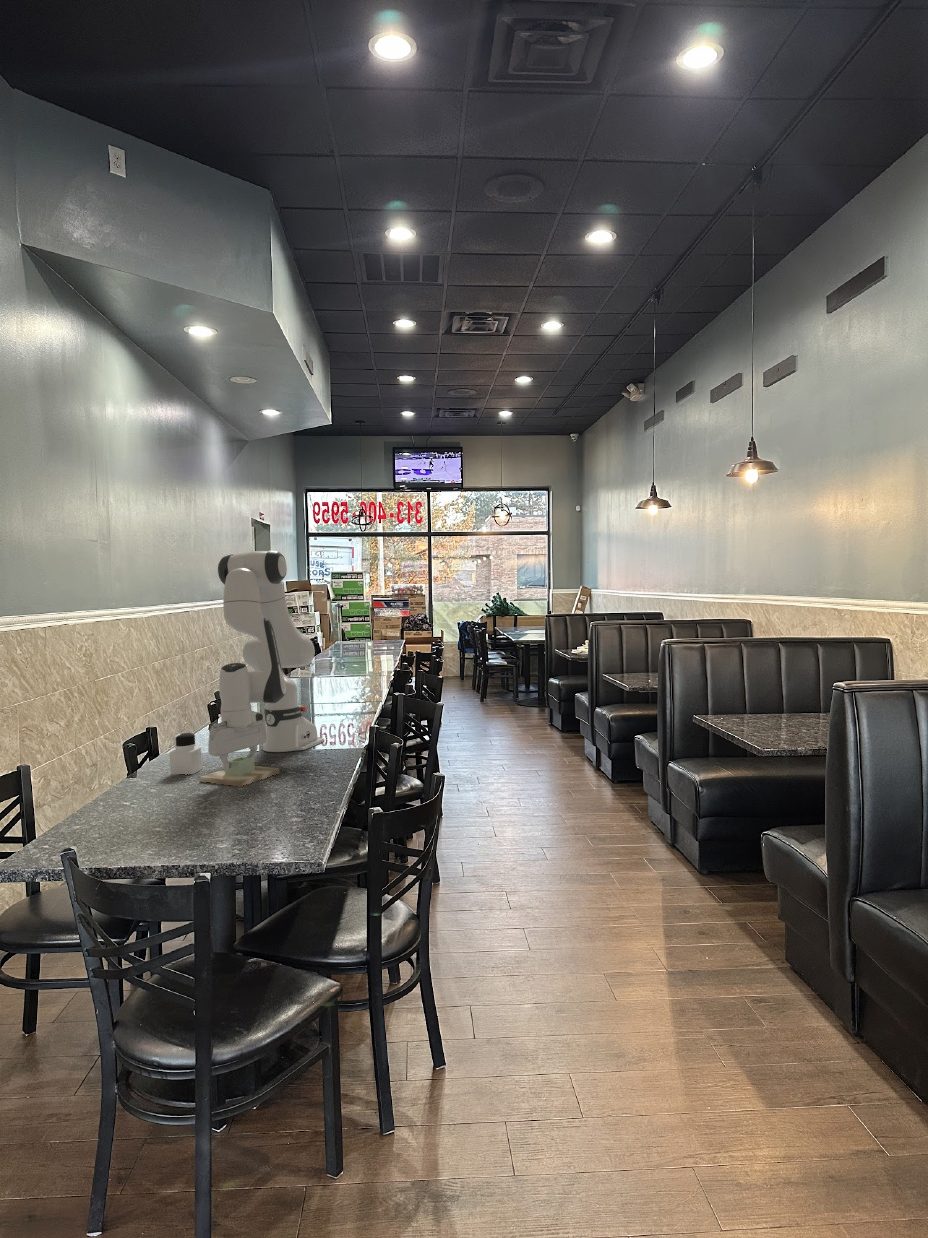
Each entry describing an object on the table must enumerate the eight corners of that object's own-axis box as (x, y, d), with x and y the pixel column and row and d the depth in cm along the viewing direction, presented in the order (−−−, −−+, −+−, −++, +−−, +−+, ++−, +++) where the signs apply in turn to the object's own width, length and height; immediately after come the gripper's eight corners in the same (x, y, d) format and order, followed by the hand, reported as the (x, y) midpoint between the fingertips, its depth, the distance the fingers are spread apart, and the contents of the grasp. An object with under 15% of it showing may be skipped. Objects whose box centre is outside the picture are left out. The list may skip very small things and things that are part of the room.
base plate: (240, 769, 246) (240, 754, 246) (279, 773, 238) (278, 758, 238) (200, 781, 232) (199, 766, 232) (239, 787, 224) (238, 771, 224)
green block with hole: (240, 769, 239) (239, 756, 239) (254, 771, 236) (254, 757, 236) (225, 774, 234) (224, 760, 234) (239, 776, 231) (239, 762, 231)
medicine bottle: (202, 769, 248) (200, 731, 248) (192, 775, 241) (190, 736, 240) (180, 769, 249) (178, 731, 248) (170, 775, 242) (167, 736, 241)
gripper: (217, 725, 223) (220, 774, 224) (268, 713, 241) (271, 758, 242) (201, 724, 227) (204, 772, 227) (253, 712, 244) (256, 756, 245)
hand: (239, 764), depth 235 cm, fingers open, 8 cm apart
